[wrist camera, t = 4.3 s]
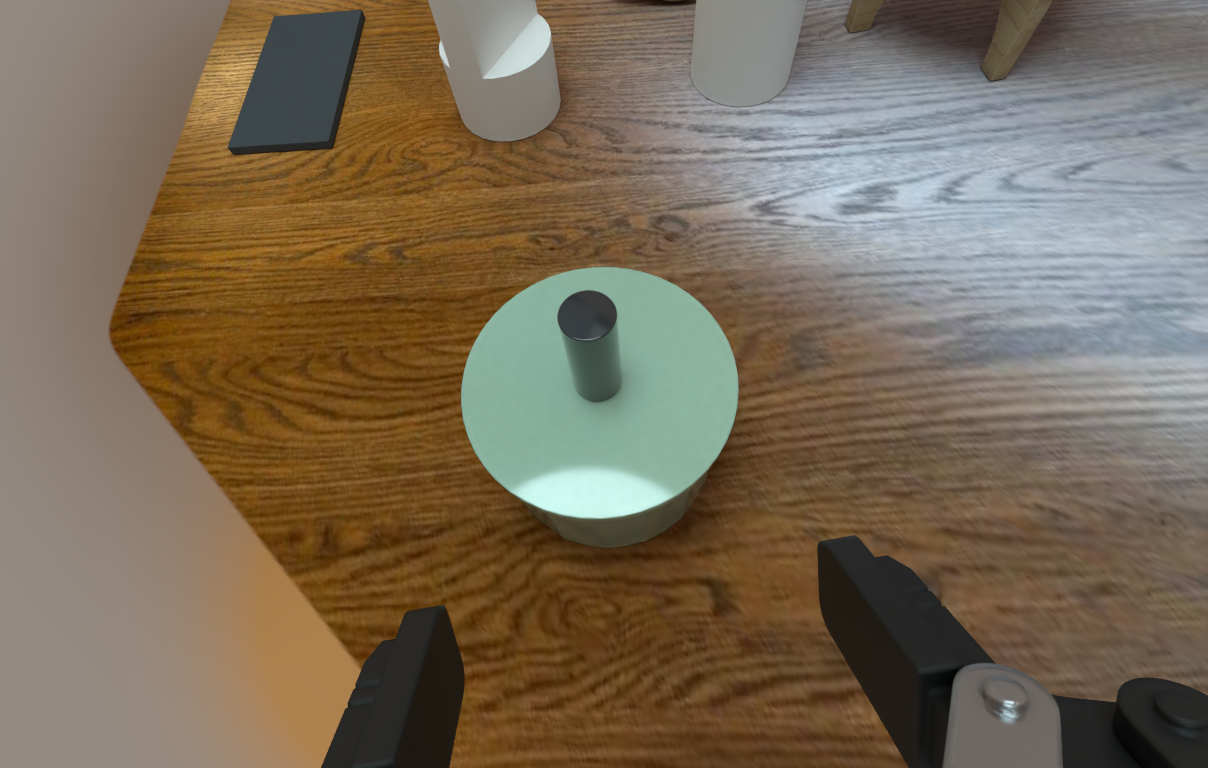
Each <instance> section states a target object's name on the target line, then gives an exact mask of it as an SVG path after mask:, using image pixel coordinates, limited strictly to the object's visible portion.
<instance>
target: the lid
mask: <svg viewBox="0 0 1208 768" xmlns="http://www.w3.org/2000/svg"><path fill="white" fill-rule="evenodd" d="M738 394H739V385H738V372H737V368H736V363H735V358H734V355H733V353H732V350H731V347H730V344H729V342H728V340H727V338H726V336H725V334H724V333H723V331H722V329H721V327H720V326H719V325H718V323H717V322H716V320H715V319H714V318H713V316H712V315H711V314H710V313H709V312H708V311H707V310H706V309H705V308H704V306H703V305H702V304H701V303H700V302H698V301H697V300H696V299H695V298H693V297H692V296H691V295H690V294H688V293H687V292H685V291H684V290H682V289H681V288H679V287H677V286H676V285H674V284H672V283H670V282H668V281H666V280H664V279H662V278H660V277H657V276H654V275H651V274H648V273H645V272H640V271H636V270H631V269H625V268H615V267H593V268H584V269H577V270H573V271H568V272H564V273H561V274H558V275H555V276H552V277H549V278H546V279H544V280H542V281H540V282H538V283H536V284H533V285H532V286H530V287H528V288H527V289H525V290H523V291H522V292H520V293H518V294H517V295H516V296H515V297H513V298H512V299H511V300H509V301H508V302H507V303H506V304H505V305H503V306H502V307H501V308H500V309H499V310H498V311H497V312H496V313H495V314H494V315H493V317H492V318H491V319H490V320H489V322H488V323H487V324H486V325H485V327H484V328H483V330H482V331H481V333H480V334H479V336H478V338H477V339H476V341H475V343H474V345H473V348H472V350H471V352H470V354H469V357H468V360H467V363H466V367H465V370H464V375H463V381H462V387H461V407H462V414H463V421H464V425H465V428H466V432H467V435H468V438H469V440H470V442H471V445H472V447H473V449H474V451H475V453H476V455H477V456H478V458H479V459H480V461H481V463H482V464H483V466H484V467H485V468H486V470H487V471H488V472H489V473H490V474H491V475H492V476H493V478H494V479H495V480H496V481H497V482H498V483H499V484H500V485H501V486H502V487H503V488H505V489H506V490H507V491H508V492H509V493H510V494H512V495H513V496H515V497H516V498H518V499H519V500H521V501H522V502H524V503H526V504H527V505H529V506H531V507H533V508H536V509H538V510H540V511H542V512H544V513H548V514H551V515H554V516H558V517H561V518H565V519H571V520H578V521H592V522H605V521H614V520H623V519H627V518H631V517H635V516H639V515H642V514H645V513H648V512H650V511H653V510H655V509H658V508H660V507H662V506H664V505H666V504H668V503H669V502H671V501H673V500H675V499H677V498H678V497H679V496H681V495H682V494H683V493H685V492H686V491H688V490H689V489H690V488H692V487H693V486H694V485H695V484H696V483H697V482H698V481H699V480H700V479H701V478H702V477H703V476H704V475H705V474H706V473H707V472H708V470H709V469H710V468H711V466H712V465H713V464H714V463H715V461H716V460H717V458H718V457H719V455H720V453H721V451H722V450H723V448H724V446H725V444H726V442H727V439H728V437H729V434H730V432H731V429H732V427H733V424H734V420H735V415H736V411H737V406H738Z"/></svg>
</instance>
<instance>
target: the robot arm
mask: <svg viewBox="0 0 1208 768" xmlns="http://www.w3.org/2000/svg"><path fill="white" fill-rule="evenodd" d="M817 553H818V579H819V601H820V607H821V612H822V615H823V619H824V621H825V624H826V626H827V629H828V631H829V632H830V634H831V636H832V638H833V639H834V641H835V643H836V644H837V646H838V648H839V649H840V651H841V653H842V655H843V656H844V658H845V660H846V661H847V663H848V665H849V666H850V668H851V670H852V672H853V673H854V675H855V677H856V678H857V680H858V682H859V683H860V685H861V687H862V689H863V690H864V692H865V694H866V695H867V697H868V699H869V700H870V702H871V704H872V706H873V707H874V709H875V711H876V712H877V714H878V716H879V717H880V719H881V721H882V723H883V724H884V726H885V728H886V729H887V731H888V733H889V734H890V736H891V738H892V740H893V741H894V743H895V745H896V746H897V748H898V750H899V751H900V753H901V755H902V757H903V758H904V760H905V762H906V763H907V765H908V767H909V768H1208V696H1207V695H1205V694H1203V693H1202V692H1200V691H1197V690H1195V689H1193V688H1191V687H1188V686H1185V685H1182V684H1180V683H1176V682H1172V681H1169V680H1164V679H1158V678H1137V679H1132V680H1130V681H1127V682H1125V683H1124V684H1123V685H1122V686H1121V687H1120V689H1119V690H1118V695H1117V700H1116V702H1107V701H1097V700H1088V699H1078V698H1068V697H1061V696H1056V695H1052V694H1050V693H1049V692H1048V690H1047V689H1046V688H1045V687H1043V686H1042V685H1041V684H1040V683H1039V682H1037V681H1036V680H1034V679H1033V678H1032V677H1030V676H1028V675H1026V674H1024V673H1023V672H1020V671H1018V670H1016V669H1013V668H1010V667H1007V666H1003V665H999V664H996V663H995V662H994V661H993V660H992V659H991V658H990V657H989V656H988V654H987V653H986V652H985V651H984V650H983V649H982V648H981V647H980V645H979V644H978V643H977V642H976V641H975V640H974V639H973V638H972V637H971V635H970V634H969V633H968V632H967V631H966V630H965V629H964V628H963V626H962V625H961V624H960V623H959V622H958V621H957V620H956V619H955V618H954V616H953V615H952V614H951V613H950V612H949V611H948V610H947V609H946V607H945V606H943V607H942V605H941V602H940V601H939V600H938V599H937V597H936V596H935V595H934V594H933V593H932V592H931V591H928V588H927V586H926V585H925V584H924V583H923V582H922V581H921V580H920V578H919V577H918V576H917V575H916V574H915V573H914V572H913V571H912V569H910V568H908V567H907V566H905V565H903V564H901V563H900V562H898V561H896V560H895V559H893V558H891V557H890V556H888V555H886V556H881V557H874V556H873V554H872V553H871V552H870V551H869V550H868V548H867V547H866V546H865V545H864V544H863V542H862V541H861V540H860V539H859V538H858V537H857V536H855V535H854V536H848V537H842V538H836V539H830V540H824V541H820V542H819V543H818V548H817ZM355 685H356V688H355V689H354V690H353V692H352V695H351V697H350V699H349V701H348V708H346V709H345V711H344V714H343V716H342V718H341V721H340V723H339V726H338V728H337V730H336V733H335V735H334V738H333V740H332V742H331V745H330V747H329V750H328V752H327V755H326V757H325V759H324V762H323V764H322V767H321V768H449V766H450V760H451V755H452V750H453V745H454V740H455V735H456V730H457V725H458V720H459V714H460V709H461V704H462V699H463V694H464V667H463V662H462V658H461V655H460V651H459V648H458V645H457V641H456V638H455V635H454V631H453V628H452V625H451V621H450V618H449V615H448V612H447V609H446V608H445V606H444V605H439V606H433V607H428V608H422V609H416V610H410V611H407V612H406V613H405V615H404V617H403V620H402V623H401V625H400V628H399V631H398V634H397V636H396V639H392V640H386V641H382V642H381V644H380V645H379V646H378V647H377V648H376V649H375V651H374V652H373V653H372V654H371V655H370V657H369V658H368V659H367V660H366V661H365V663H364V665H363V668H362V670H361V672H360V675H359V678H358V680H357V682H356V684H355Z"/></svg>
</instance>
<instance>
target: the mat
mask: <svg viewBox="0 0 1208 768" xmlns="http://www.w3.org/2000/svg"><path fill="white" fill-rule="evenodd" d="M364 19H365V16H364V14H363V12H362V10H352V11H339V12H326V13H313V14H300V15H287V16H274V18H273V21H272V24H271V27H270V29H269V32H268V35H267V38H266V41H265V43H264V46H263V49H262V52H261V55H260V58H259V60H258V63H257V66H256V69H255V72H254V75H253V77H252V80H251V83H250V86H249V89H248V92H247V94H246V97H245V100H244V103H243V106H242V108H241V111H240V114H239V117H238V120H237V123H236V125H235V128H234V131H233V134H232V137H231V140H230V142H229V145H228V149H229V150H230V151H231V152H232V154H248V153H264V152H279V151H295V150H310V149H326V148H333V144H334V140H335V136H336V132H337V128H338V124H339V120H340V116H341V112H342V108H343V104H344V100H345V96H346V92H347V88H348V83H349V79H350V75H351V71H352V67H353V63H354V59H355V55H356V51H357V47H358V43H359V39H360V35H361V31H362V27H363V23H364Z"/></svg>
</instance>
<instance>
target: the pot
mask: <svg viewBox="0 0 1208 768" xmlns="http://www.w3.org/2000/svg"><path fill="white" fill-rule="evenodd" d="M708 472H709V470H708ZM708 472H707V473H706V474H705V475H704V476H703V477H702V478H701V479H700V480H699V481H698V482H697V483H696V484H695V485H694V486H693V487H692V488H690V489H689V490H688V491H686V492H685V493H683V494H682V495H681V496H679V497H678V498H677V499H675V500H673V501H671V502H669V503H668V504H666V505H664V506H662V507H660V508H658V509H655V510H653V511H650V512H648V513H645V514H642V515H639V516H635V517H631V518H627V519H623V520H614V521H605V522H592V521H578V520H571V519H565V518H561V517H558V516H554V515H551V514H548V513H544V512H542V511H540V510H538V509H536V508H533V507H531V506H529V505H527V504H526V503H524V502H523V503H524V505H525V506H526V507H527V509H528V510H529V511H530V513H531V514H532V515H533V516H534V517H536V518H537V519H538V520H540V521H541V522H542V523H544V524H545V525H546V526H547V527H548V528H550V529H551V530H553V531H554V532H556V533H557V534H559V535H560V536H561V537H563V538H565V539H568V540H571V541H574V542H577V543H580V544H584V545H588V546H594V547H602V548H614V547H623V546H629V545H633V544H637V543H641V542H644V541H646V540H647V541H648V540H649V539H651V538H653V537H655V536H657V535H658V534H660V533H662V532H664V531H665V530H667V529H668V528H669V527H671V526H672V525H673V524H675V523H676V522H677V521H679V520H680V519H681V518H682V517H683V516H684V514H685V513H686V511H687V510H688V509H689V507H690V506H691V505H692V504H693V502H694V500H695V498H696V497H697V495H698V493H699V492H700V490H701V489H702V487H703V486H704V483H705V481H706V478H707V475H708Z"/></svg>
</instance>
